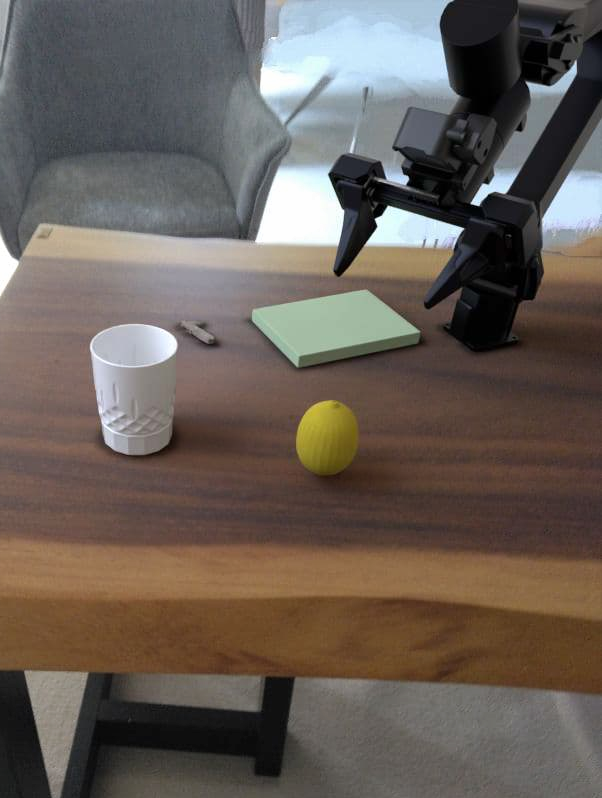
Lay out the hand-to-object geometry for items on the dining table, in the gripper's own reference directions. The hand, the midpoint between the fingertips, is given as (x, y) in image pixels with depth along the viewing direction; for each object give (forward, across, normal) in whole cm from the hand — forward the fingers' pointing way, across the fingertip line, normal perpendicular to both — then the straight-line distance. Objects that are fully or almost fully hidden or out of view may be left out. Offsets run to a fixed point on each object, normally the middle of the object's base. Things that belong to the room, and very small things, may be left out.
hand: (379, 290), depth 69 cm
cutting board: (-2, -13, +22) cm, 25 cm away
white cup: (+22, -15, +2) cm, 26 cm away
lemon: (+16, +2, +6) cm, 17 cm away
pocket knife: (+6, -24, +14) cm, 29 cm away
